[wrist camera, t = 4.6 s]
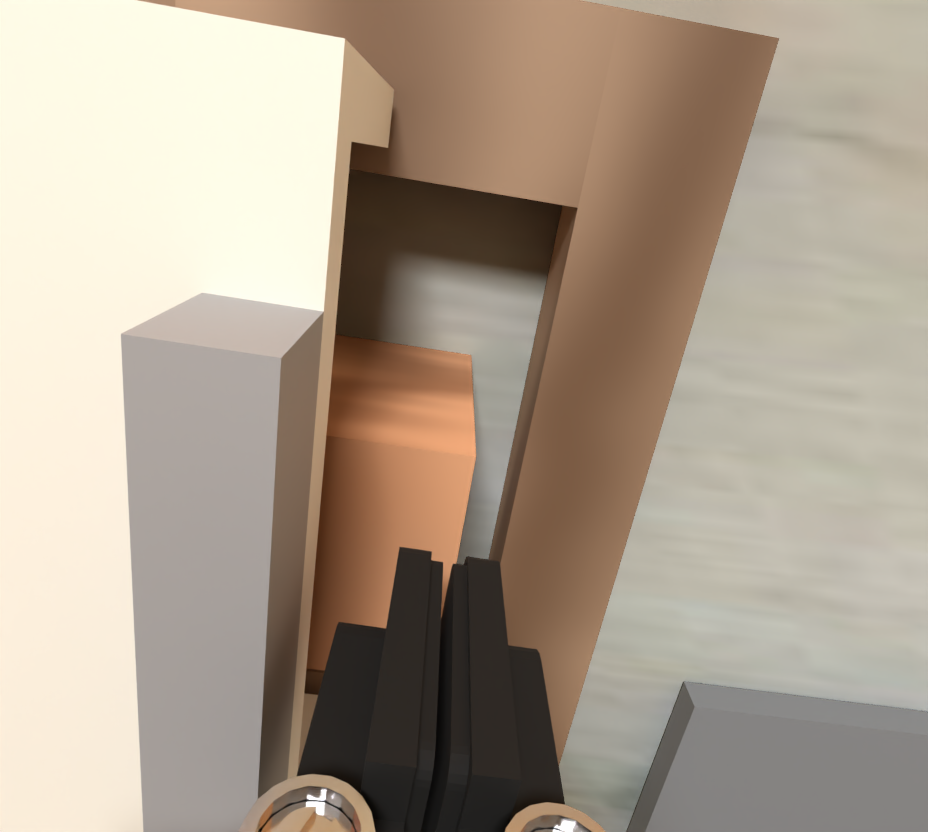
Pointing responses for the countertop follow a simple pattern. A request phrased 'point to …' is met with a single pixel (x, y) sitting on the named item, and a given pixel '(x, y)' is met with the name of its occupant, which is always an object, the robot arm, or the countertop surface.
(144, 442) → the cream bridge stand
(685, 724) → the slate mat
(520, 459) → the puzzle board
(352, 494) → the block
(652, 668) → the countertop surface
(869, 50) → the countertop surface
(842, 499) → the countertop surface
